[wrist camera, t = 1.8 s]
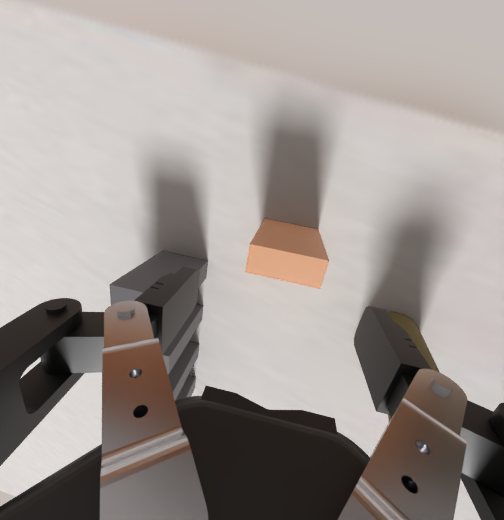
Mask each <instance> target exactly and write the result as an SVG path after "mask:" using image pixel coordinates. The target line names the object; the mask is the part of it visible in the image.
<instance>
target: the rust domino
mask: <svg viewBox="0 0 504 520" xmlns="http://www.w3.org/2000/svg"><path fill="white" fill-rule="evenodd" d="M328 262H329V259H328V256H327V253H326V250H325V248H324V245H323V242H322V239H321V236H320V233H319V230H318V229H314V228H309V227H304V226H299V225H294V224H289V223H284V222H279V221H274V220H269V219H264V221H263V223H262V224H261V226H260V228H259V229H258V231H257V233H256V235H255V236H254V238H253V240H252V241H251V243H250V247H249V253H248V258H247V264H246V270H245V272H247V273H251V274H256V275H260V276H265V277H269V278H274V279H278V280H283V281H287V282H292V283H296V284H300V285H305V286H309V287H314V288H318V289H320V288H321V285H322V282H323V278H324V275H325V272H326V269H327V266H328Z"/></svg>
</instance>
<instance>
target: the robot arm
mask: <svg viewBox="0 0 504 520" xmlns="http://www.w3.org/2000/svg"><path fill="white" fill-rule="evenodd" d="M199 277H200V271H199V269H196V268H192V267H187V266H183V267H182V268H181V269H180V270H179V271H177V272H176V273H175V274H173V273H170V274H167V275H165V276H162V277H161V278H160V279H158V280H157V281H156V282H155V283H154V284H153V285H151V286H150V288H148V289H147V290H146V291H144V292H143V293H142V294H141V295H140V296H139V297H138V298H136V299H135V300H134V301H122V302H118V303H115V304H113V305H111V306H109V307H108V308H107V309H106V310H105V312H82V307H81V303H80V302H79V301H77V300H75V299H69V298H61V299H54V300H50V301H46V302H44V303H41V304H39V305H37V306H36V307H34V308H32V309H31V310H29V311H27V312H26V313H24V314H22V315H21V316H19V317H17V318H16V319H14V320H12V321H11V322H9V323H7V324H6V325H4V326H2V327H1V328H0V466H1V465H2V464H3V462H4V461H5V460H6V459H7V458H8V457H9V456H10V455H11V454H12V453H13V451H14V450H15V449H16V448H17V447H18V446H19V445H20V444H21V443H22V442H23V440H24V439H25V438H26V437H27V436H28V435H29V434H30V433H31V432H32V430H33V429H34V428H35V427H36V426H37V425H38V424H39V423H40V422H41V421H42V419H43V418H44V417H45V416H46V415H47V414H48V413H49V412H50V411H51V410H52V408H53V407H54V406H55V405H56V404H57V403H58V402H59V401H60V400H61V398H62V397H63V396H64V395H65V394H66V393H67V392H68V391H69V390H70V389H71V387H72V386H73V385H74V384H75V383H76V382H77V381H78V380H79V379H80V378H81V376H82V375H83V374H84V373H92V372H102V444H101V445H99V446H98V447H96V448H94V449H93V450H91V451H90V452H88V453H86V454H85V455H83V456H81V457H80V458H78V459H77V460H75V461H73V462H72V463H70V464H68V465H67V466H65V467H64V468H62V469H60V470H59V471H57V472H55V473H54V474H52V475H51V476H49V477H47V478H46V479H44V480H42V481H41V482H39V483H38V484H36V485H34V486H33V487H31V488H29V489H28V490H26V491H25V492H23V493H21V494H20V495H18V496H16V497H15V498H13V499H12V500H10V501H8V502H7V503H5V504H3V505H2V506H0V520H453V519H454V513H455V507H456V502H457V496H458V491H459V485H460V479H462V481H463V483H464V486H465V488H466V490H467V492H468V494H469V496H470V498H471V500H472V502H473V504H474V506H475V508H476V510H477V512H478V514H479V516H480V518H481V520H504V403H501V404H499V406H498V407H497V408H496V409H495V411H494V412H493V411H490V410H488V409H486V408H484V407H481V406H479V405H477V404H475V403H472V402H470V401H468V400H467V396H466V394H465V393H464V391H463V390H462V389H461V388H460V387H459V386H458V385H457V384H456V383H455V382H454V381H453V380H451V379H450V378H448V377H447V376H445V375H443V374H441V373H439V372H437V371H434V370H432V369H431V367H430V366H429V364H428V363H427V361H426V360H425V358H424V357H423V355H422V354H421V352H420V351H419V349H417V346H416V345H415V343H414V342H412V339H411V338H410V336H409V335H408V333H407V332H406V331H405V330H404V329H403V328H402V327H401V326H399V325H398V324H397V323H394V321H393V320H392V318H391V316H390V315H389V313H388V312H387V310H384V309H380V308H375V307H370V306H368V307H366V309H365V311H364V313H363V316H362V318H361V321H360V323H359V326H358V328H357V331H356V333H355V338H354V346H355V349H356V352H357V355H358V358H359V361H360V364H361V367H362V370H363V373H364V376H365V379H366V382H367V385H368V388H369V391H370V394H371V397H372V400H373V403H374V406H375V409H376V411H377V412H381V413H385V414H389V415H390V416H391V420H390V422H389V424H388V425H387V427H386V429H385V431H384V433H383V434H382V436H381V438H380V440H379V442H378V444H377V445H376V447H375V449H374V451H373V453H372V455H371V456H370V457H369V456H368V455H367V454H366V453H365V452H364V451H363V450H362V449H361V448H360V447H358V446H357V445H356V444H355V443H354V442H352V441H351V440H350V439H348V438H347V437H345V436H344V435H342V434H340V433H339V432H337V430H336V424H335V419H334V418H330V417H326V416H323V415H319V414H315V413H311V412H307V411H303V410H268V409H265V408H263V407H261V406H260V405H258V404H256V403H254V402H252V401H250V400H248V399H246V398H244V397H242V396H240V395H239V394H237V393H233V392H229V391H225V390H221V389H217V388H213V387H209V386H206V387H205V389H204V392H203V395H202V396H193V397H186V398H182V399H179V400H176V401H175V400H174V396H173V392H172V389H171V385H170V381H169V377H168V373H167V369H166V366H165V362H164V358H163V354H164V352H165V351H166V350H167V348H168V347H169V345H170V344H171V342H172V341H173V339H174V338H175V336H176V335H177V333H178V332H179V330H180V329H181V328H182V326H183V325H184V323H185V322H186V320H187V319H188V317H189V316H190V314H191V313H192V311H193V310H194V308H195V306H196V303H197V299H198V289H199ZM39 357H41V362H40V363H39V364H37V365H36V366H35V367H34V368H33V369H31V370H30V371H29V372H28V373H27V374H26V375H24V376H23V377H22V378H21V376H22V374H23V372H24V371H25V370H26V369H27V367H29V366H30V365H31V364H32V363H33V362H35V361H36V360H37V359H38V358H39ZM20 378H21V379H20Z"/></svg>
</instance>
